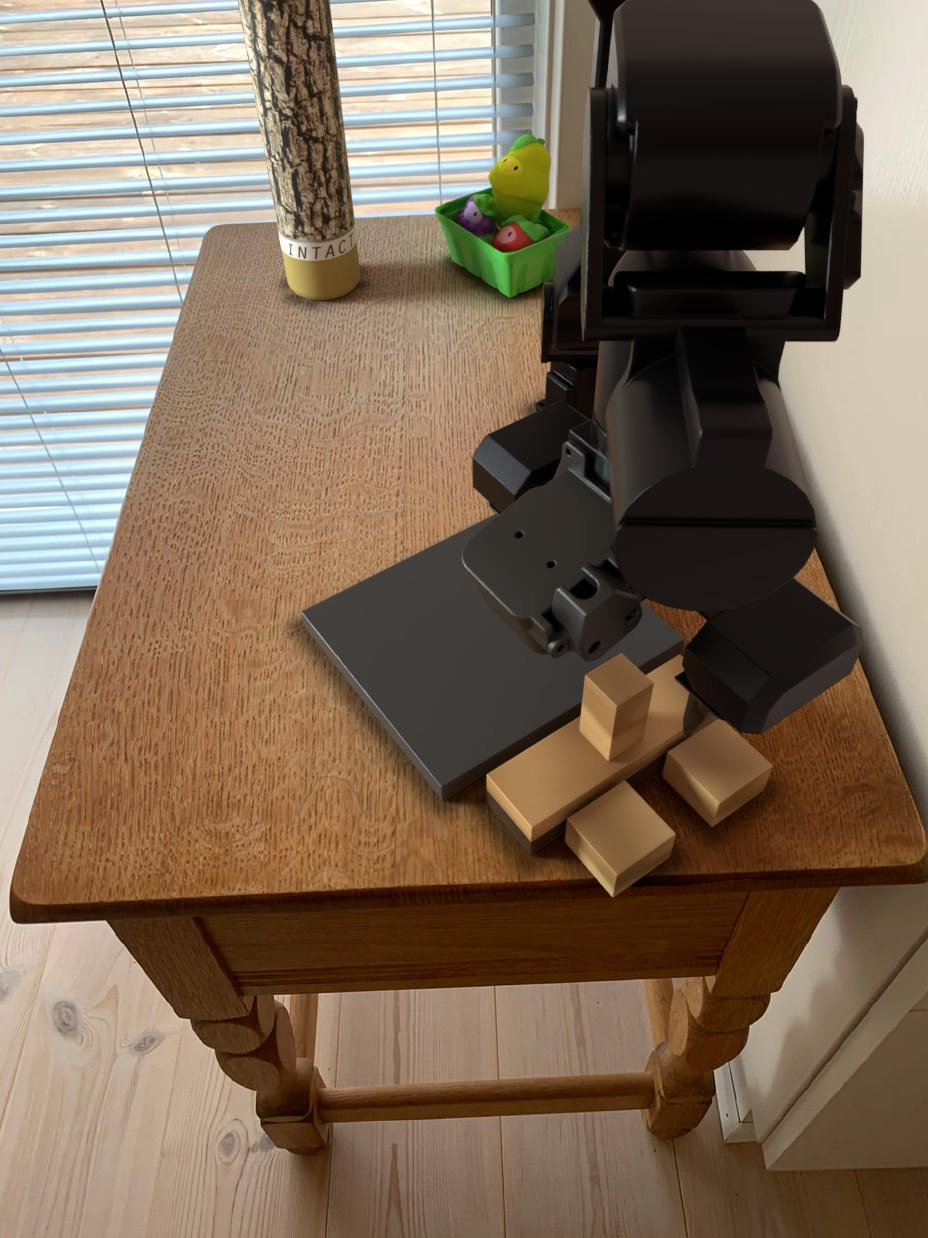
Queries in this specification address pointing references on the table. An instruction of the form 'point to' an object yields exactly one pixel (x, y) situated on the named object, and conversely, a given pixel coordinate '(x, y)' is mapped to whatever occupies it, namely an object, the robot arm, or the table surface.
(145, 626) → the table surface
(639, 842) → the cork piece
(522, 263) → the fruit basket
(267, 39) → the paper tube
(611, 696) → the brush
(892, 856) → the table surface
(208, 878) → the table surface
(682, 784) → the cork piece
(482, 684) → the serving board
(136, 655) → the table surface
